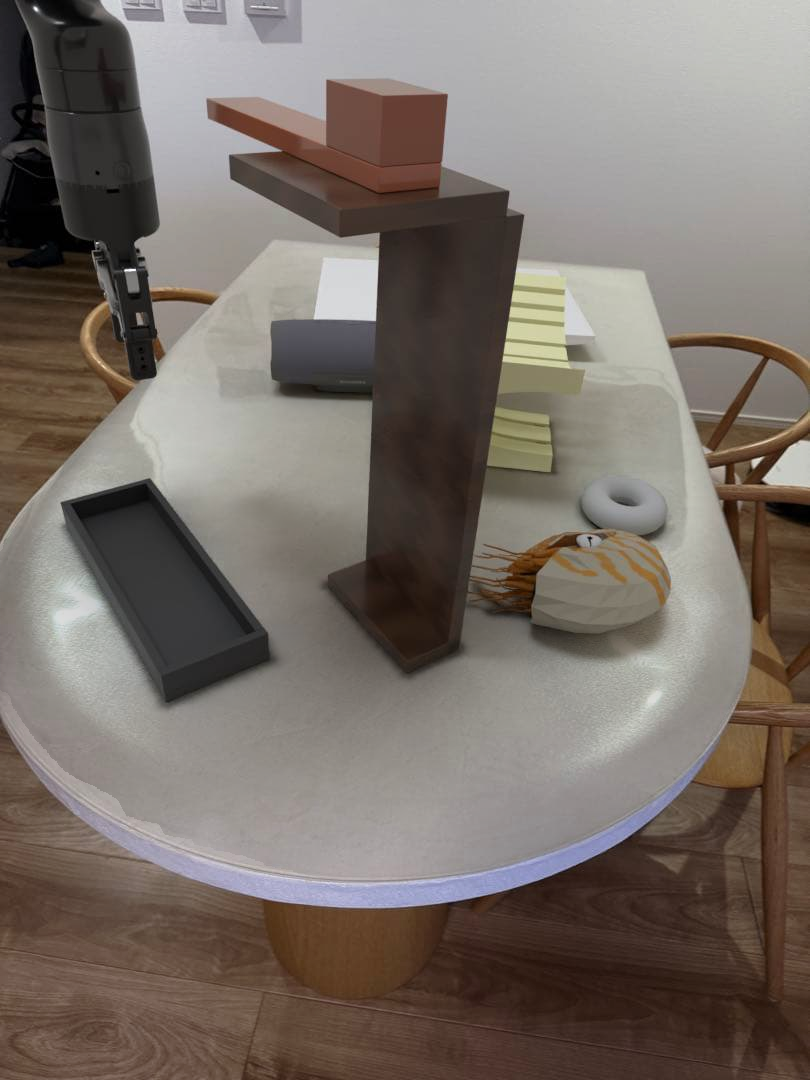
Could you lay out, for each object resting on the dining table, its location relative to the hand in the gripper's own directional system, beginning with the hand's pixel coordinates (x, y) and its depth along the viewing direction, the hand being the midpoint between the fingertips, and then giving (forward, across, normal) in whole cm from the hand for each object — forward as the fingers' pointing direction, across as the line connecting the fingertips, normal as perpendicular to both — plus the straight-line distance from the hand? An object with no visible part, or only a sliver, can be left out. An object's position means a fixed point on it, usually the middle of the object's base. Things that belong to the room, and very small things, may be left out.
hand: (135, 358), depth 71 cm
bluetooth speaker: (+20, -25, +32) cm, 45 cm away
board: (+20, -45, +58) cm, 76 cm away
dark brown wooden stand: (+20, +23, +13) cm, 33 cm away
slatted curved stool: (+20, -5, +44) cm, 48 cm away
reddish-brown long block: (-20, +16, +12) cm, 28 cm away
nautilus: (+20, +26, +33) cm, 47 cm away
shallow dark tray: (+20, +10, -2) cm, 22 cm away
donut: (+20, +16, +50) cm, 56 cm away
